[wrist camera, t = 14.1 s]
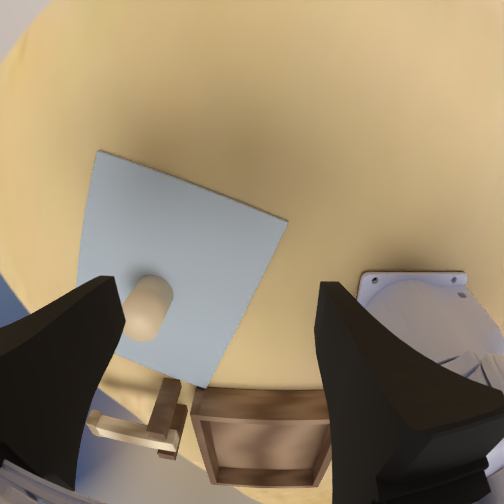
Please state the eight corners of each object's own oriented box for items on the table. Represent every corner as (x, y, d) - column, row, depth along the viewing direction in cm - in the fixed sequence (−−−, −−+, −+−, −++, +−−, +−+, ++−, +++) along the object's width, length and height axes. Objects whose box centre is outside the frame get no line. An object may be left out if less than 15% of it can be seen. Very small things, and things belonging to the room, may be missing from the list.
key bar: (176, 426, 24) (172, 442, 22) (180, 438, 25) (176, 453, 23) (92, 409, 24) (85, 422, 23) (99, 421, 25) (93, 434, 24)
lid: (287, 217, 21) (292, 249, 16) (207, 381, 28) (198, 422, 24) (104, 148, 19) (63, 162, 15) (79, 328, 26) (55, 361, 22)
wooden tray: (345, 385, 27) (355, 441, 21) (316, 466, 35) (318, 505, 29) (164, 378, 27) (145, 431, 22) (191, 460, 36) (184, 498, 30)
